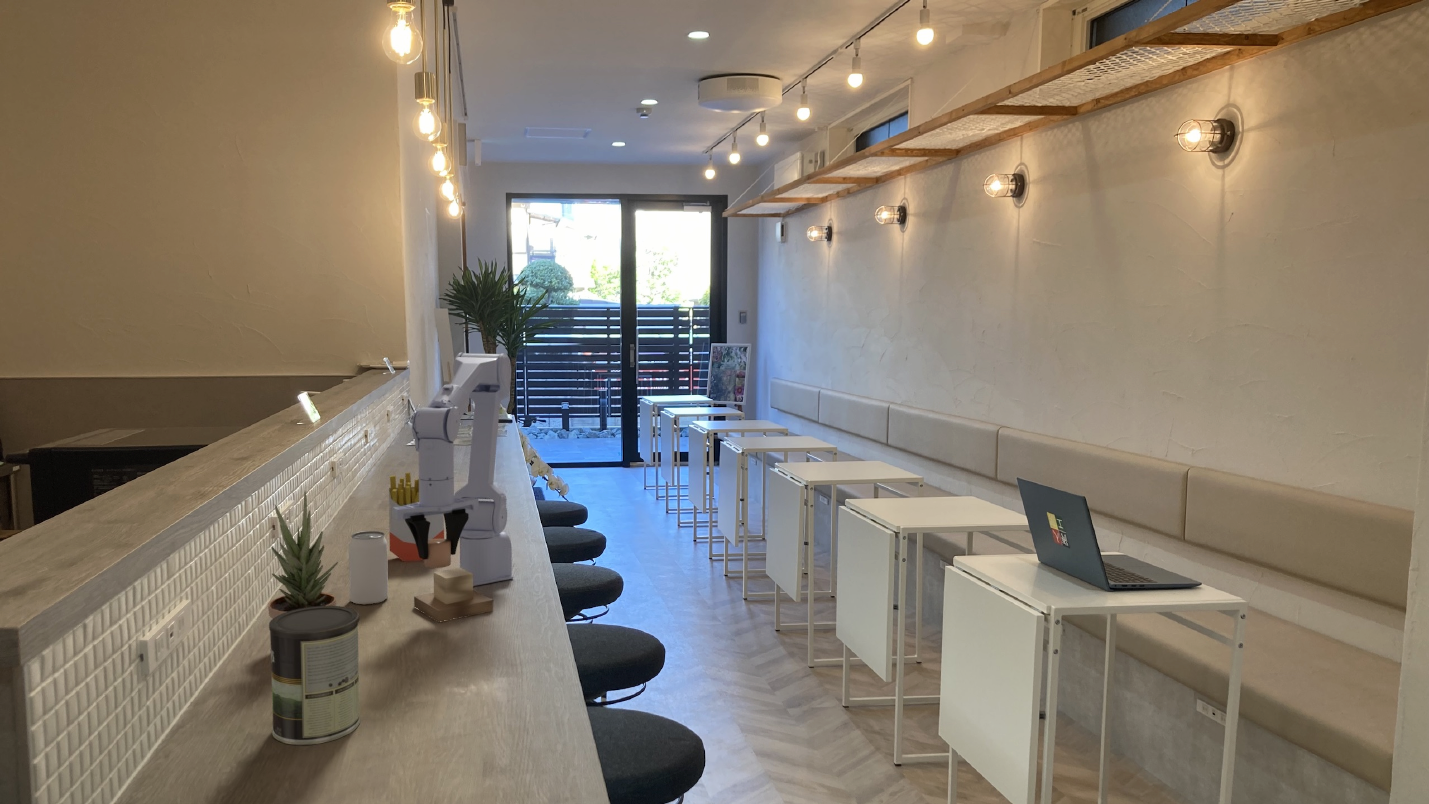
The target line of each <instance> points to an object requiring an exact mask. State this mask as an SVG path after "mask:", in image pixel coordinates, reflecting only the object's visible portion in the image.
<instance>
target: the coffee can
mask: <svg viewBox="0 0 1429 804" xmlns="http://www.w3.org/2000/svg"><path fill="white" fill-rule="evenodd" d="M359 621H360V614H359V612H358V611H357V610H355V609H353V608H350V607H346V606H340V605H339V606H338V605H336V606H315V607H306V608H301V609H296V610H292V611H288V612H285V613H283V614H280V615H278V616H276V617H275V618H273V619H272V618H271V620H270V621H269V624H268V630H269V633H270V634H269V635H270V636H269V639H270V667H271V669H270V670H271V672H270V673H271V699H272V701H271V702H272V707H271V709H272V712H271V713H272V730H271V731H272V733H271V734H272V736H273V739H275V740H276V741H278V742H280V743H283V744H286V745H290V746H291V745H292V746H313V745H320V744H324V743H329V742H332V741H335V740H339V739H341V738H342V737H345V736H347V735H349V734H351V733H352V732H354V731H355V730H356V729H357V728H358V727H359V726H360V724H361V723H360V722H361V717H360V683H359V682H360V680H359V679H360V677H359V676H360V673H359V672H360V671H359V670H360V669H359V666H360V665H359Z"/></svg>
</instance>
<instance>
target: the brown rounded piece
mask: <svg viewBox="0 0 1429 804" xmlns="http://www.w3.org/2000/svg"><path fill="white" fill-rule="evenodd" d="M451 564H452V555H451V541H450V540H448V539H446V538H444V539H430V540H428V559H425V560H423V566H424V567H426V568H429V569H430V568H431V569H442V568H446V567H447V568H448V567H449V566H451Z"/></svg>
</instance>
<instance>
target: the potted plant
mask: <svg viewBox="0 0 1429 804" xmlns="http://www.w3.org/2000/svg"><path fill="white" fill-rule="evenodd" d="M303 492H304V493H303V508H302V510H303V511H302V525H301V530H300V527H299V526H300V525H297V532H296V533H297V534H296V535H297V538H296V539H297V542H296V540H295V539H294V536H293V535H292V533H291V530H290V529H289V527H288V524H287V523H286V521H285V519H284V517H283V515H282V514H281V512H280V510H279V508H278V505H276V504H274V507H275V509H274V510H275V513H276V516H277V519H278V521H279V528H280V531H281V532H280V533H281V535H282V539H283V542H284V544H285V546H284V545H283V543H282V541H279V545H280V549H281V551H282V553H283V555H284V556H283V555H282V554H280V552H278V551H277V550H276V549H275V548H274V547H273V546H271V551H272V552H273V554H274V555H275V557H276V558H277V560H278V562H279V564H280V566H281V568H282V570H283V572H284V573H285V575H284V574H281V575H280V574H278V575H276V574H275V573H271V575H272V576H273V578H274V579H276V580H277V581H278V582H279V583H281V585H283V586H284V587H285V588H286V590H287V591H288V592H289V593H288V592H287V591H286V590H284V589H281V588H279V589H278V590H279V592H281V593H282V594H283V595H281V596H278V597H276V598H273V599H272V600H271V601H269V603H268V605H267V606H268V616H269V618H271V620H272V619H273V618H275V617H276V616H278V615H280V614H283V613H285V612H288V611H292V610H296V609H301V608H306V607H315V606H337V605H336V603H337V598H336V596H335V595H334V594H332V593H328V592H323V590H324V589H325V587H326V585H325V584H326V582H327V581H328V579H329V578H330V576H332V575H331V574H332V572H331V571H332V570H333V569H334V568H335V567H336V566H337V565H338V563H339V561H336V562H335V563H334V564H333V565H332V566H331V567H330V568H329V569H328V570H326V571H325V572H324V573H322V574H321V575H320V573H321V571H322V570H323V568H324V565H323V564H321V563H322V559H321V558H322V555H323V552H324V550H325V545H324V544H323V545H322V547H321V543H322V539H323V532H324V531H323V530H321V531H320V532H319V535H318V537H317V539H316V540H315V542H314V543H313V544H312V546H311V545H310V544H311V542H310V541H311V534H312V526H311V520H312V519H311V518H312V516H311V510H308V504H307V503H308V501H307V492H306V490H304V491H303ZM310 546H311V547H310ZM320 547H321V548H320ZM319 575H320V576H319Z"/></svg>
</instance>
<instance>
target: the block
mask: <svg viewBox="0 0 1429 804" xmlns="http://www.w3.org/2000/svg"><path fill="white" fill-rule="evenodd" d="M473 590H474V586H473V574H472V573H470V572H468V571H466V570H464V569H462V568H460V567H454V568H451V569H442V570H438V571H433V593H434V597H435V598H436V599H438V600H440V601H441V602H443V603H445V604H450V603H455V602H460V601H465V600H470V599H473Z"/></svg>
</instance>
